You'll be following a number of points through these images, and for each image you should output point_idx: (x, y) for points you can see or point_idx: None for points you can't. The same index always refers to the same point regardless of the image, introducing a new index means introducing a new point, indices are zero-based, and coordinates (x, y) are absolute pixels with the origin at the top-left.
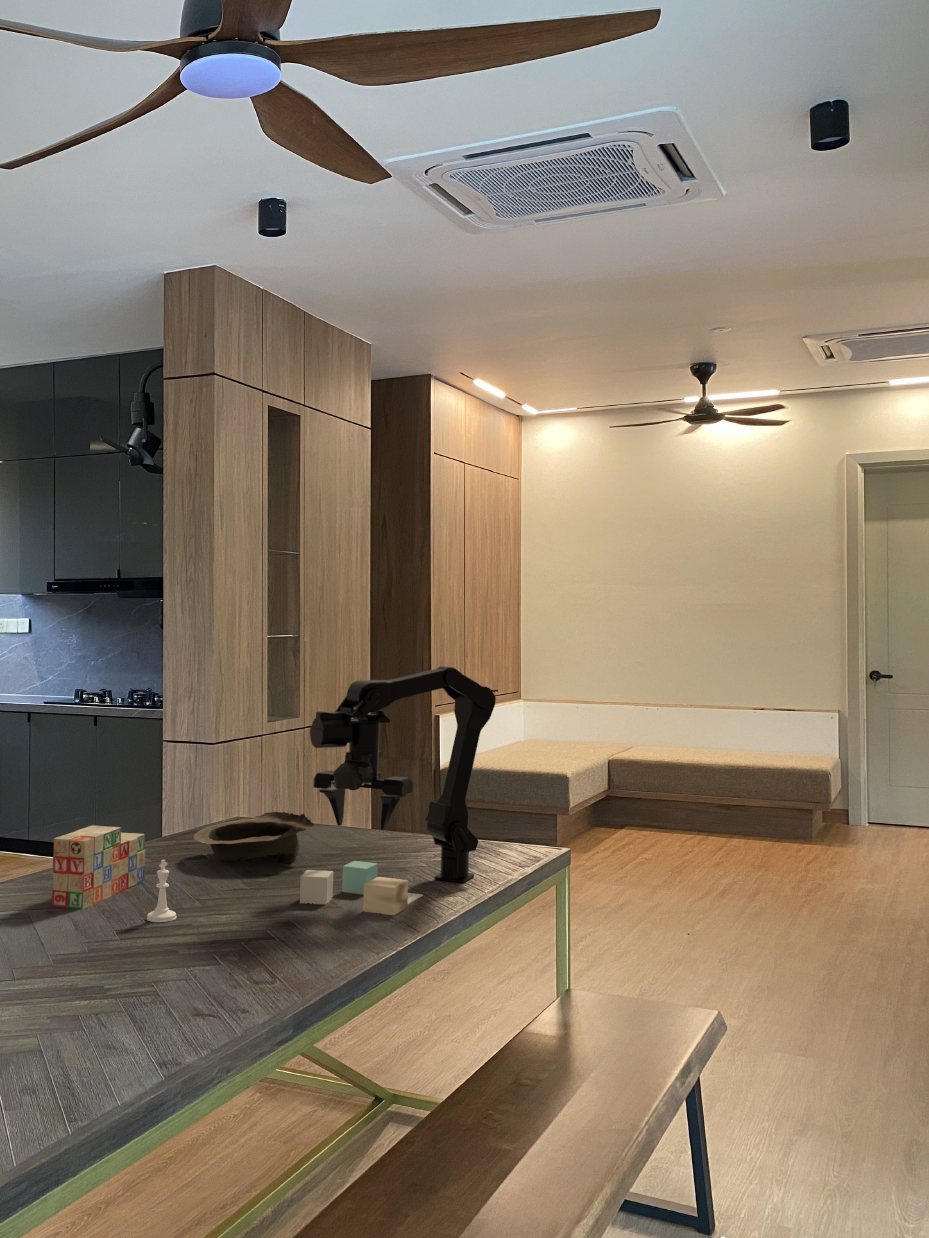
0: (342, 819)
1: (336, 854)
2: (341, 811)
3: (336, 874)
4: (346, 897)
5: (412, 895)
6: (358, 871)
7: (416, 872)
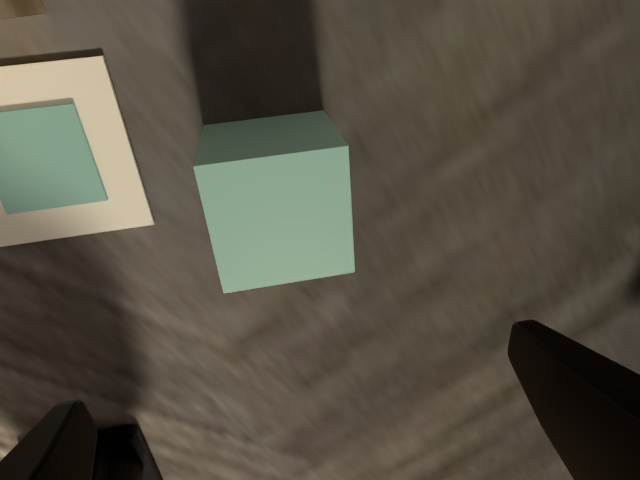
0: (530, 397)
1: (550, 452)
2: (592, 458)
3: (464, 303)
4: (248, 28)
5: (10, 213)
6: (245, 151)
7: (246, 448)
